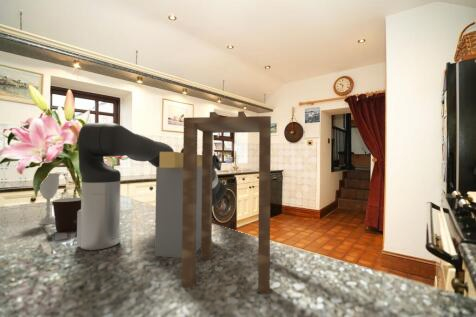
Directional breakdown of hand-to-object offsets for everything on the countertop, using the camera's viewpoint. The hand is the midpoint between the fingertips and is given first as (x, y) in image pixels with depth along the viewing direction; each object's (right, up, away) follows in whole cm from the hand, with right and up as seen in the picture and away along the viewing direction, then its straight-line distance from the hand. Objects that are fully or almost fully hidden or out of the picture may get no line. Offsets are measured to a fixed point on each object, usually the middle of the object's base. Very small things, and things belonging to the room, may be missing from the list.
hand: (193, 150), depth 69 cm
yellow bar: (-1, -5, -7) cm, 9 cm away
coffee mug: (-42, -26, +9) cm, 51 cm away
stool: (+12, -26, -21) cm, 36 cm away
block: (-1, -26, -7) cm, 27 cm away
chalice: (-57, -26, +16) cm, 64 cm away
